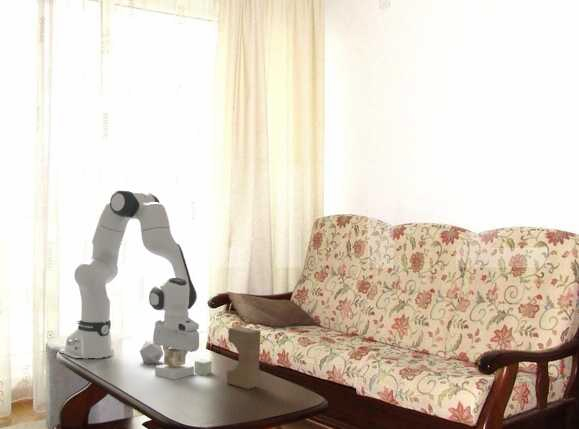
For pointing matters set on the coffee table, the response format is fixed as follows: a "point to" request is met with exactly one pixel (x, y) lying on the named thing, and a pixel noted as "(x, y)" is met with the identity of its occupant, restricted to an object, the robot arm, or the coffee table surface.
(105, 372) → the coffee table surface
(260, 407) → the coffee table surface
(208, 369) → the sage cube
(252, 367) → the decorative block
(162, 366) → the foundation slab
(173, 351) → the beech cube
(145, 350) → the die
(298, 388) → the coffee table surface
